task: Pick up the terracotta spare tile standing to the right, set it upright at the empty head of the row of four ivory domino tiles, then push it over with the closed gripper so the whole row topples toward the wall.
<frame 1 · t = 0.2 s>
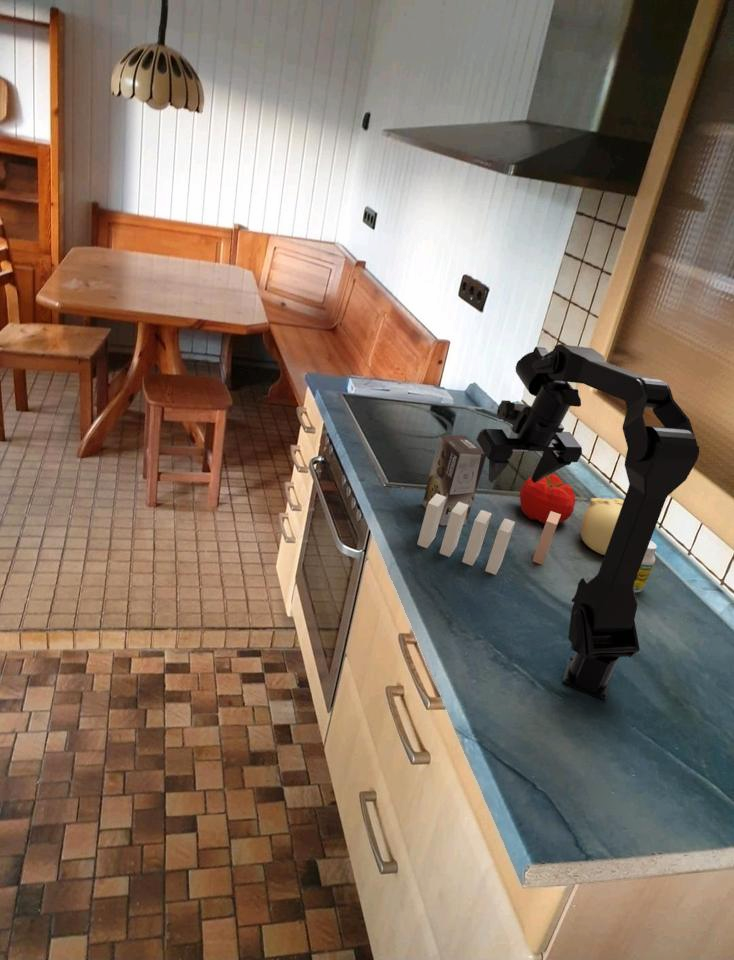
hand: (512, 481, 127), 15 cm above the counter, tool pointing down, fingers open, 9 cm apart
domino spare: (539, 557, 136), on the counter
domino 3: (470, 558, 131), on the counter
coffee box: (443, 515, 145), on the counter
domino 5: (426, 540, 133), on the counter
tomato: (540, 517, 153), on the counter
pale yellow round lump: (602, 548, 145), on the counter
supplement bottle: (627, 586, 133), on the counter
domino 2: (493, 566, 130), on the counter
domino 4: (448, 549, 132), on the counter
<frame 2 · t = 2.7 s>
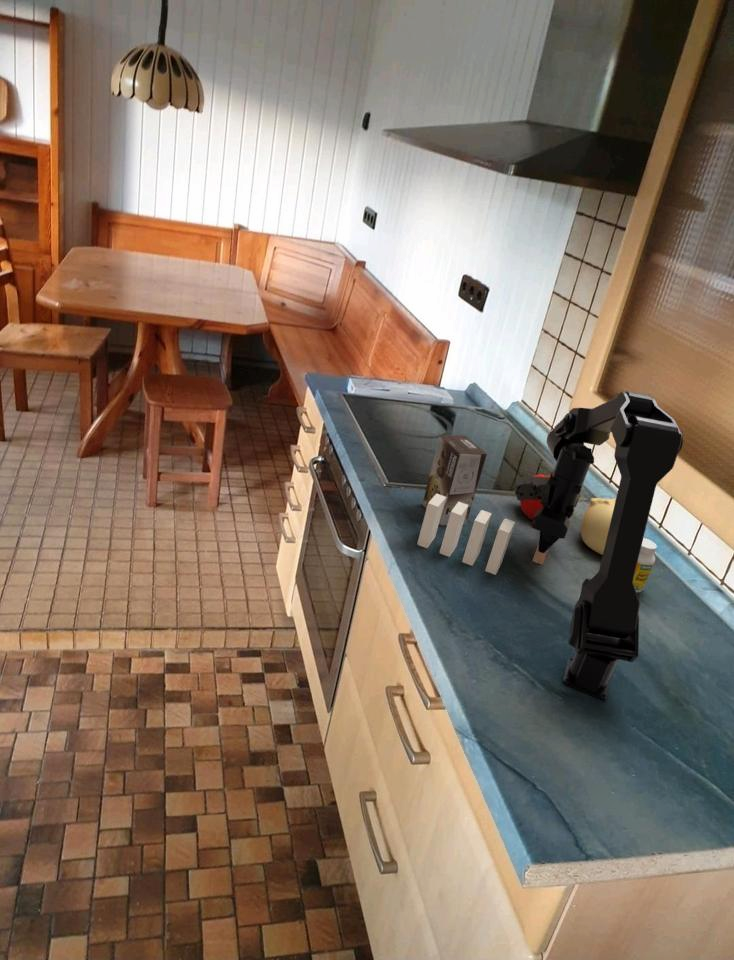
hand: (543, 546, 135), 3 cm above the counter, tool pointing down, fingers closed on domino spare, 5 cm apart
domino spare: (539, 557, 136), on the counter, touching gripper
everything else where it was.
when the fingers open (3 cm above the counter, at t = 7.4 s): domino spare stays where it is, on the counter.
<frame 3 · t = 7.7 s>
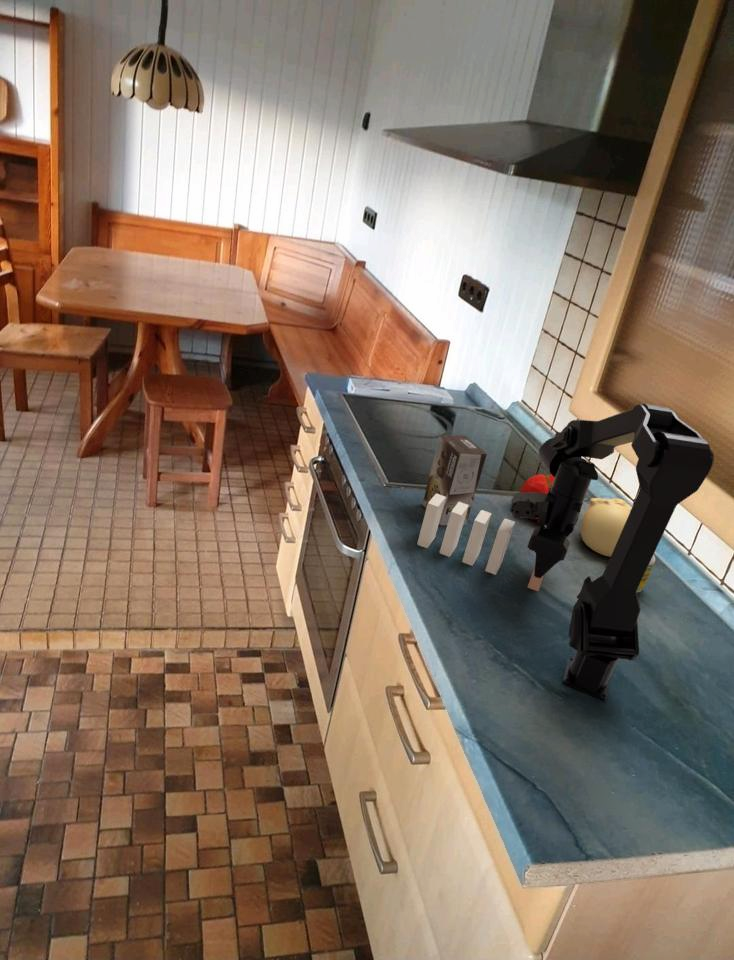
hand: (541, 567, 126), 3 cm above the counter, tool pointing down, fingers open, 8 cm apart
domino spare: (535, 583, 127), on the counter
everything else where it was.
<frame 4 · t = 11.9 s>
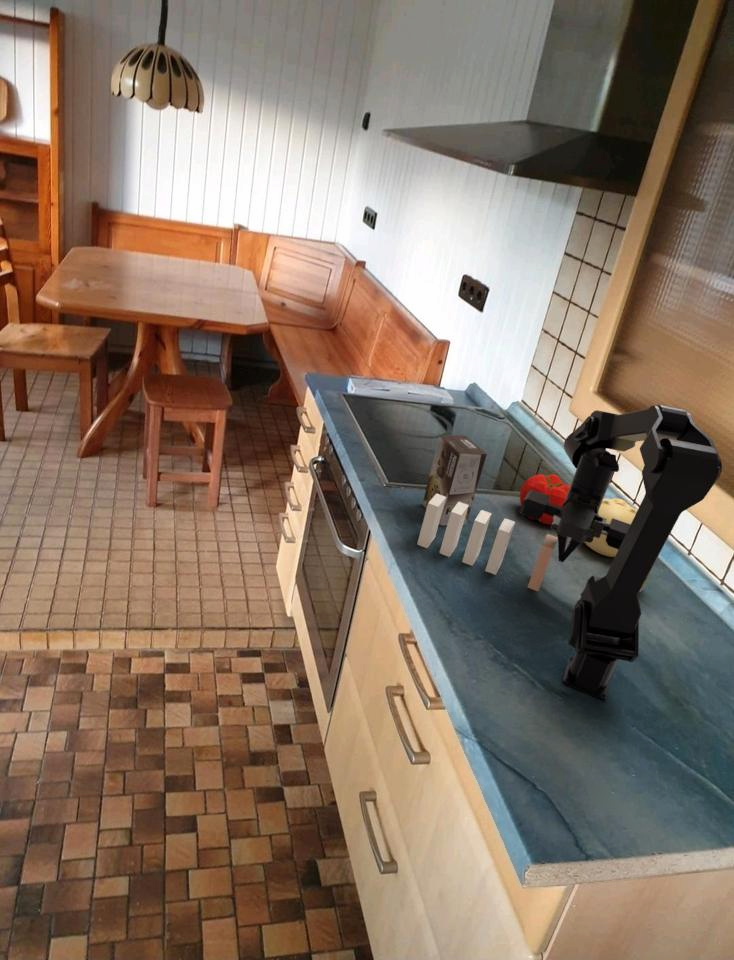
hand: (561, 560, 124), 6 cm above the counter, tool pointing down, fingers closed
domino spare: (535, 583, 127), on the counter, touching gripper
everything else where it was.
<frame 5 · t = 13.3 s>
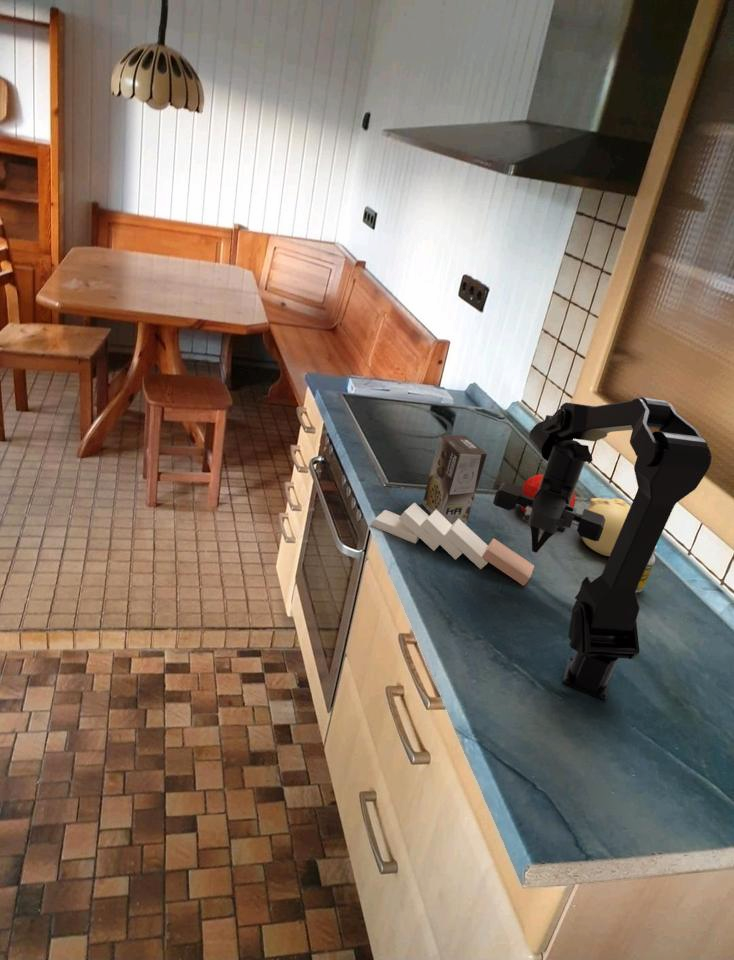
hand: (534, 551, 125), 6 cm above the counter, tool pointing down, fingers closed
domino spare: (529, 575, 127), point 1 cm above the counter, tilted 74°
domino 3: (462, 551, 131), point 1 cm above the counter, tilted 64°, touching domino 2, domino 4
domino 5: (420, 535, 133), point 1 cm above the counter, tilted 90°
domino 2: (487, 560, 129), point 1 cm above the counter, tilted 64°, touching domino 3
domino 4: (441, 542, 132), point 1 cm above the counter, tilted 67°, touching domino 3
everything else where it was.
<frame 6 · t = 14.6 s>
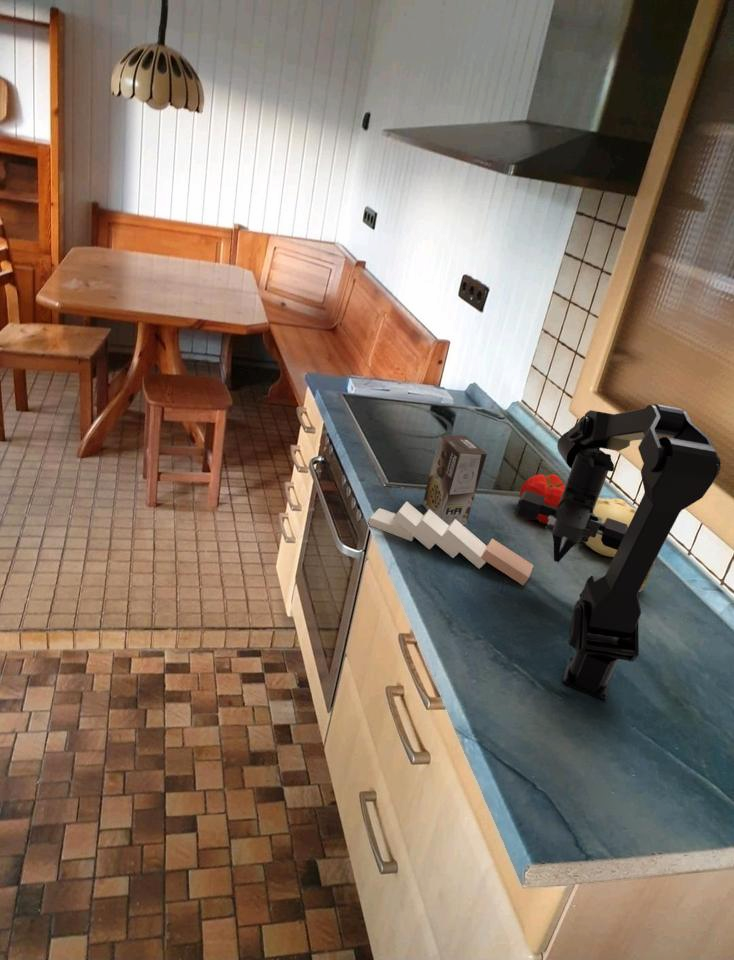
hand: (556, 560, 124), 6 cm above the counter, tool pointing down, fingers closed
domino 5: (416, 532, 134), point 1 cm above the counter, tilted 90°
domino 4: (436, 540, 132), point 1 cm above the counter, tilted 66°, touching domino 3
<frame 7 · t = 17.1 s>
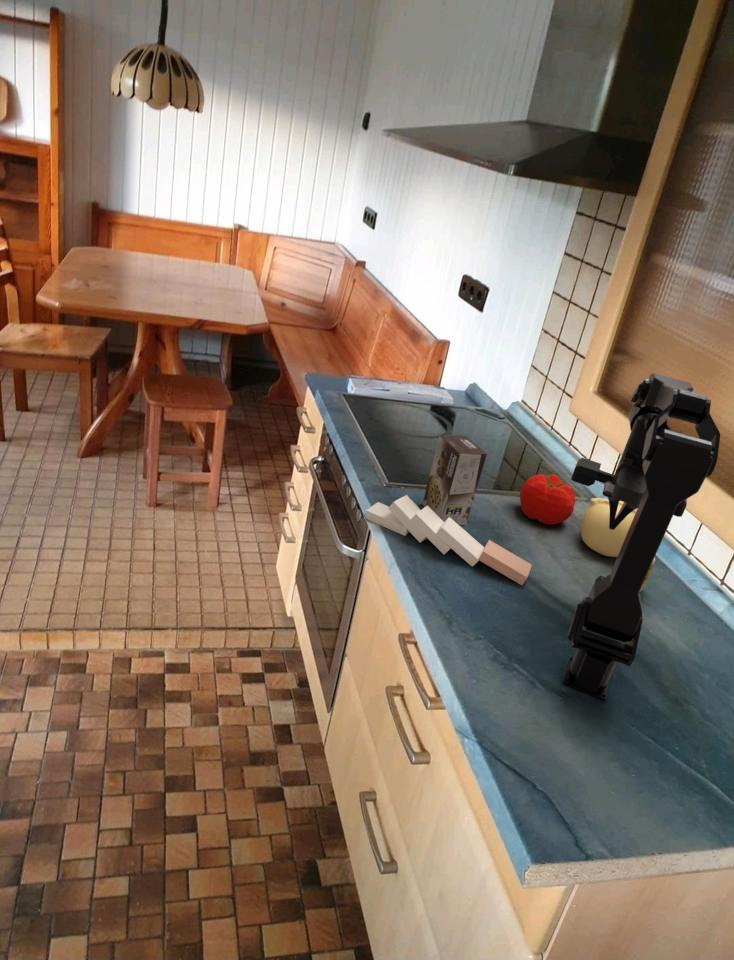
hand: (611, 528, 123), 13 cm above the counter, tool pointing down, fingers closed
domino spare: (527, 575, 127), point 1 cm above the counter, tilted 78°, touching domino 2
domino 3: (452, 546, 131), point 1 cm above the counter, tilted 66°, touching domino 2
domino 5: (411, 527, 135), point 1 cm above the counter, tilted 90°, touching domino 4
domino 2: (478, 557, 130), point 1 cm above the counter, tilted 66°, touching domino 3, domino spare
domino 4: (429, 535, 133), point 1 cm above the counter, tilted 66°, touching domino 5
everything else where it was.
at the end: domino 5 tilted 90°; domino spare tilted 78°; domino 5 inside the target area (1.4 cm from its centre), point 0.7 cm above the counter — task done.
